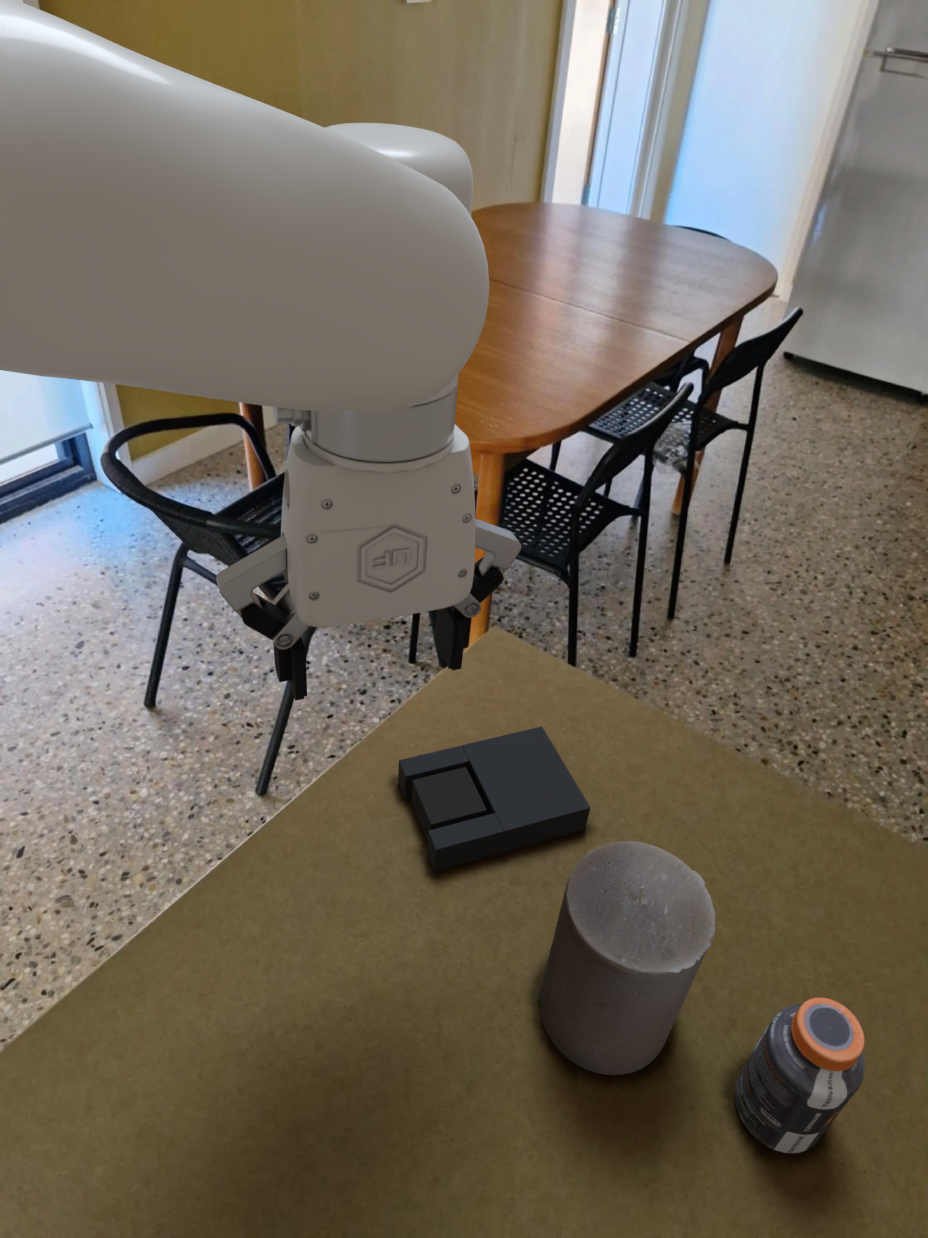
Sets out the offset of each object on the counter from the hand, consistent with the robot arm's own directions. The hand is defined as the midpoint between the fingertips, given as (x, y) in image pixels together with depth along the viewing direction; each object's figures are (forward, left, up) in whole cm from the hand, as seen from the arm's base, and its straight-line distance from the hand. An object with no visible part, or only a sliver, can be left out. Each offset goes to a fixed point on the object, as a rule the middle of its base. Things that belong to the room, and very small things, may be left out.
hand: (373, 669), depth 54 cm
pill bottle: (+22, -24, -26) cm, 41 cm away
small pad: (+9, +6, -25) cm, 27 cm away
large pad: (+13, +6, -25) cm, 29 cm away
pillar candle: (+14, -14, -26) cm, 32 cm away
